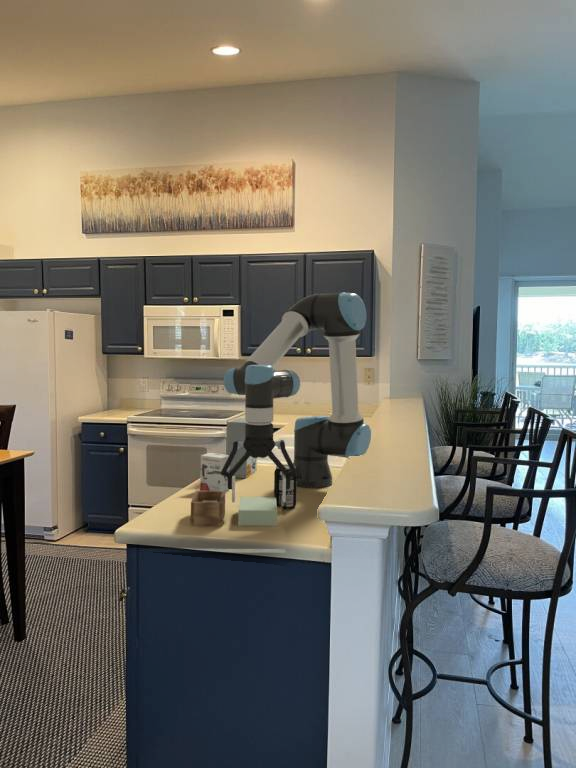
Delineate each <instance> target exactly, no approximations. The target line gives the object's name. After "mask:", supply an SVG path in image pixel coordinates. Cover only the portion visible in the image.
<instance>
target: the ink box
mask: <svg viewBox="0 0 576 768" xmlns="http://www.w3.org/2000/svg"><path fill="white" fill-rule="evenodd" d="M228 457H229V455H227V454H222V453H214V452H207V453H205V454H200V474H199V475H200V476H199V477H200V480H199V481H200V483H199V491H225V493H229V492H230V489H228V478H227V477H226V476H222V475H221V471H222V469H223V467H224V465H225V463H226V461H227V459H228ZM227 471H230V466H229V468H228V470H227Z"/></svg>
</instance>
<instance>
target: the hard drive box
mask: <svg viewBox="0 0 576 768" xmlns="http://www.w3.org/2000/svg"><path fill="white" fill-rule="evenodd" d="M246 423H247V422H246V421H245V417H238V418H236V419H232V420H230V421H227V429H226V433H227V434H226V435H227V437H226V455H230V453H231V451H232V449H233V443H234V440H237V441H241V442H244V441H245V425H246ZM245 452H246V449H245V448H244V446H241V448H240V449H237V452H236V454H235V456H234V458H233V460H232V462H231V464H230V470H231V469H232V468H233V467H234V466H235V464H236V463H237V462H238V461H239V460H240V459H241V457H242V456H243V455H244V454H245ZM257 462H258V458H253V457H251V456H250V457H249V458H248V459H247V460H246V461H245V462H244V463H243V465H242V466H241V467H240V468H239V469H238V470H237V472H236V473H235V474H234V475H233V476H235V479H236V478H237V479H238V478H239V479H246V478H248V477H250V476H251V475H252V474H254V473H255V472H257V470H258V469H257V468H258V467H257V465H258V463H257Z"/></svg>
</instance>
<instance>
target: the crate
mask: <svg viewBox="0 0 576 768" xmlns="http://www.w3.org/2000/svg"><path fill="white" fill-rule="evenodd" d="M203 500H218V502H202V501H203ZM225 515H226V492H225V491H200V490H195V493H194V495H193V496H192V500H191V502H190V528H191V527H192V528H193V527H195V528H196V527H197V528H198V527H199V528H201V527H202V528H209V527H210V528H223V524H224V520H225Z"/></svg>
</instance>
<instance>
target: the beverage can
mask: <svg viewBox="0 0 576 768" xmlns="http://www.w3.org/2000/svg"><path fill="white" fill-rule="evenodd" d="M283 465H284V467H285V468H286V469H287V470H288V471H291V470H290V468H289V466H288V464H283ZM294 467H295V466H294ZM295 468H296V467H295ZM273 474H274V477H273V478H274V481H273V483H274V485H273V486H274V487H273V497H276V503H277V508H278V507H279V508H281V510H292V509H295V507H296V506H297V493H298V492H297V489H298V488H297V487H298V486H297V474H296V475H294V476H291V477H290V489H286V502H283V476H285V475H284V474H283V473H282V472H281V470H280V469H279V468H278V467H277V466H276V465H275V470H274V473H273Z"/></svg>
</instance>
